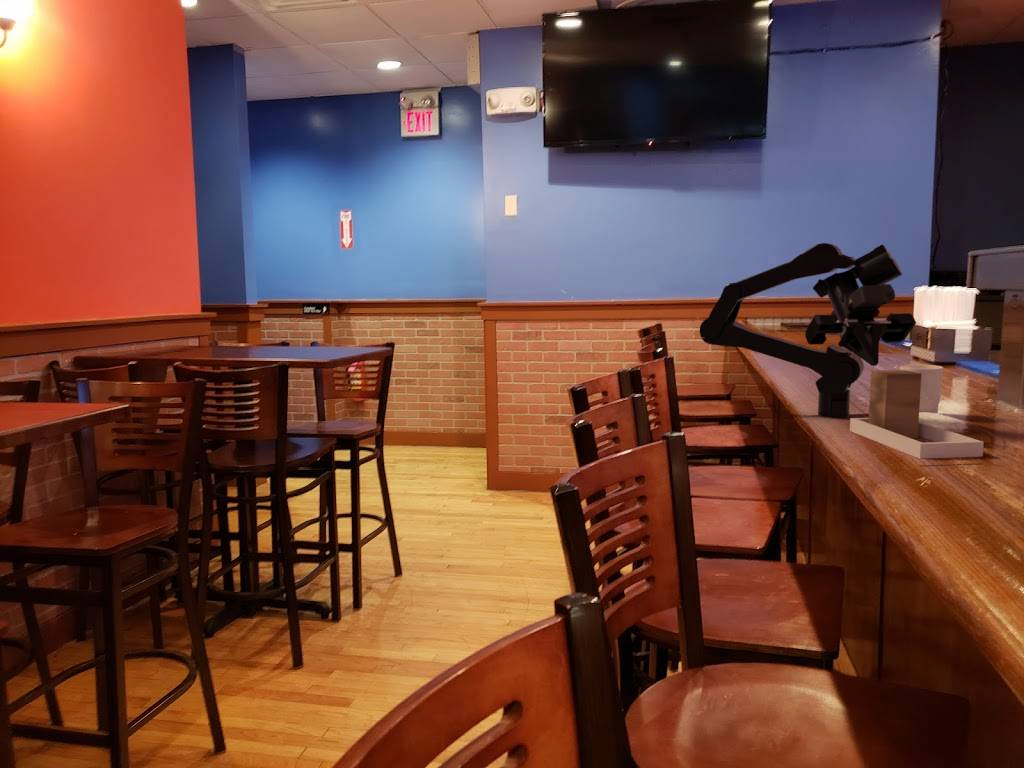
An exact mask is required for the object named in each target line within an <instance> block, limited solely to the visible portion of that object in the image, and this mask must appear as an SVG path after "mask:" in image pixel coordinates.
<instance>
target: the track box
mask: <svg viewBox="0 0 1024 768" xmlns="http://www.w3.org/2000/svg"><path fill="white" fill-rule="evenodd" d="M868 422H869V417H854V418H853V417H851V418H849V432H852V433H855V434H857V435H860V436H862V437H864V438H866V439H870V440H872V441H875V442H877V443H880V444H882V445H885V446H887V447H890V448H892V449H895V450H898V451H900V452H902V453H905V454H908V455H911V456H913V457H915V458H918V459H920V460H921V459H922V460H923V459H943V458H945V459H946V458H947V459H948V458H949V459H950V458H975V457H976V458H977V457H978V458H979V457H980V458H981V457H983V456H984V442H985V441H982V440H979V439H975V438H972V437H969V436H966V435H963V434H960V433H958V432H957V433H956V432H953V431H950V430H947V429H943V428H941V427H938V426H934V425H932V424H929V423H925V422H922V421H919V424H918V437H920V438H924V439H926V440H930V441H932V442H922V441H919V440H916V439H915V438H908V437H905V436H903V435H900V434H897V433H894V432H892V431H889V430H886V429H883V428H880V427H878V426H875V425H872V424H869V423H868ZM972 465H973V466H974V465H975V466H977V465H983V463H979V462H978V463H959V464H958V463H957V464H956V463H954V464H953V463H952V464H928V465H926V464H925V465H920V466H921V467H945V466H947V467H948V466H950V467H951V466H972ZM921 467H920V468H921Z"/></svg>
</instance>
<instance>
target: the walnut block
mask: <svg viewBox="0 0 1024 768" xmlns="http://www.w3.org/2000/svg"><path fill="white" fill-rule="evenodd" d="M921 375H922V374H921V373H916V372H912V371H907V370H900V369H892V370H891V369H890V370H889V369H888V370H886V369H885V370H871V371H870V385H869V386H870V388H869V407H868V418H869V422H868V423H869V424H872V425H875V426H878V427H880V428H883V429H886V430H889V431H892V432H894V433H897V434H900V435H903V436H905V437H908V438H911V439H918V437H919V436H918V424H919V422H920V421H919V420H920V412H919V407H920V391H921Z"/></svg>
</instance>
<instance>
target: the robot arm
mask: <svg viewBox="0 0 1024 768" xmlns="http://www.w3.org/2000/svg"><path fill="white" fill-rule="evenodd" d="M839 269H840V270H841V269H848V270H846V271H841V272H835V271H837V270H839ZM833 272H835V273H833ZM830 273H833V274H831V275H829V276H827V277H826V278H823V279H821V278H820V279H818V280H817V283H815V284H814V285H813V287H812V290H813V291H814V292H815V294H816V295H817V296H818V297H819V298H821V299H822V298H824V297H826V296H827V297H828V299H829V302H830V304H831V306H832V312H831V313H830V314H815V315H813V317H812V318H811V320H810V322H809V325H808V326H807V329H805V336H804V337H805V339H806V342H807V344H809V345H811V346H812V345H824V343H825V342H826V341H827V336H826V335H829V336H833V335H835V336H839V337H840V339H839V341H838V344H837V345H836V344H833V343H831V344H829V345H828V346H827V347H826V349H817V348H813V347H810V346H806V345H803V344H800V343H796V342H793V341H790V340H786V339H784V338H780V337H776V336H773V335H770V334H766V333H762V332H761V331H760V332H759V331H756V330H753V329H750V328H748V327H747V326H746V325H744V324H743V323H741V322H739V321H737V318H738V317H739V316H738V315H739V312H740V309H741V307H742V303H743V301H744V299H747V298H750V297H752V296H754V295H758V294H759V293H762V292H766V291H768V290H771V289H774V288H776V287H779V286H782V285H785V284H787V283H789V282H792V281H795V280H798V279H803V278H804V279H805V278H808V277H809V278H810V277H815V276H820V275H824V274H830ZM901 276H903V272H902V271H901V268H900V267H899V264H898V263H897V261H896V259H895V257H894V258H893V256H892V255H891V254H890V252H889V251H888V249H887V248H886V246H885V245H884V244H880V245H879V246H876V247H875V248H873V249H872V250H871V251H870V252H868V253H865V254H864V255H862V256H861V257H858V258H854V256H849V255H846V254H843V252H842V250H841V249H840V247H838V245H835V244H833V243H826V242H821V243H817V244H815V245H813V246H812V247H810V248H808V249H807V250H805V251H803V252H802V253H800V254H798V255H797V256H796V257H794V258H792V259H791V260H789V261H788V262H785V263H783V264H780V265H778V266H775V267H772V268H769V269H767V270H764V271H762V272H758V273H756V274H753V275H751V276H749V277H746V278H744V279H741V280H738V281H735V282H730V283H728V284H726V285H725V286H724V287H723V289H722V292H721V294H720V296H719V298H718V300H717V301H716V302H715V304H714V306H713V308H712V309H711V311H710V314H709V315H708V317H707V318H706V319H704V320H703V321H702V322H701V323H700V326H699V336H700V338H701V341H703V342H704V343H706V344H708V345H712V346H718V347H719V346H721V347H729V348H731V347H732V348H743V349H746V350H749V351H752V352H756V353H758V354H761V355H765V356H769V357H772V358H776V359H778V360H782V361H785V362H787V363H788V362H789V363H791V364H794V365H798V366H801V367H804V368H808V369H810V370H812V371H813V372H815V373H816V374H818V375H819V376H821V377H820V378H818V379H816V380H815V386H816V388H817V391H818V400H817V401H818V402H817V403H818V404H817V416H821V417H823V418H824V417H825V418H830V419H847V418H848V417H849V416H850V401H851V390H850V388H851V386H852V384H854V383H855V382H856V381H857V380H858V379H859V378H860V377H861V376H862V375H863V373H864V372H865V363H864V361H865V362H866V363H867V364H869V365H870V366H873V367H874V366H877V365H878V364H879V359H880V358H879V357H880V355H879V353H880V351H879V350H880V341H883V342H885V343H886V344H893V343H894V344H898V343H900V344H901V343H902V342H905V340H906V339H907V337H908V336H909V334H910V333H911V331H913V329H914V327H915V326H916V324H917V321H916V319H915V317H914V315H913V313H910V312H896V313H889V314H888V316H887V317H886V319H885V320H884V319H883V320H881V319H880V320H878V319H877V320H876V319H875V318H877V317H879V315H880V314H881V312H880V308H881V307H883V306H884V305H889V304H890V303H891V302H893V301H894V300H895V298H896V293H895V289H894V288H893V286H892V285H891V284H890V283H889V282H892V281H893V280H895V279H898V278H901ZM857 280H859V283H860V284H861V286H860V285H859V284H858V281H857ZM887 283H888V284H887ZM812 416H813V417H814V414H812Z"/></svg>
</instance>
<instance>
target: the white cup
mask: <svg viewBox="0 0 1024 768" xmlns="http://www.w3.org/2000/svg"><path fill="white" fill-rule="evenodd" d="M899 370H907V371H912V372H916V373H921V374H922V375H921V391H920V407H919V413H935V414H938V413H939V404H940V402H941V401H940V400H941V393H942V387H943V378H944V377H943V376H944V367H943V366H940V365H934V364H921V363H920V364H919V363H918V364H916V363H915V364H914V363H912V364H911V363H910V364H900V365H899Z"/></svg>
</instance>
